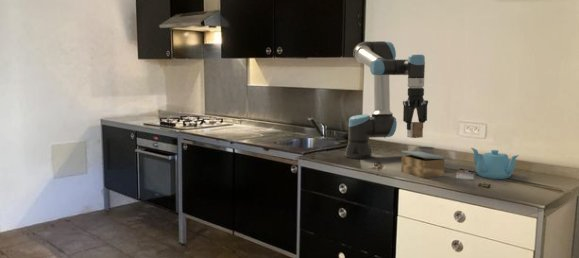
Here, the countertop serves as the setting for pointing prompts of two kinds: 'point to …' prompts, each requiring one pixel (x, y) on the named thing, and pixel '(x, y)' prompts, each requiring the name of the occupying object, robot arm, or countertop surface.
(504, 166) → the teapot
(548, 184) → the countertop surface
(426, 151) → the cup
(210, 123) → the countertop surface
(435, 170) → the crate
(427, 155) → the lid
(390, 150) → the countertop surface
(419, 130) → the block
